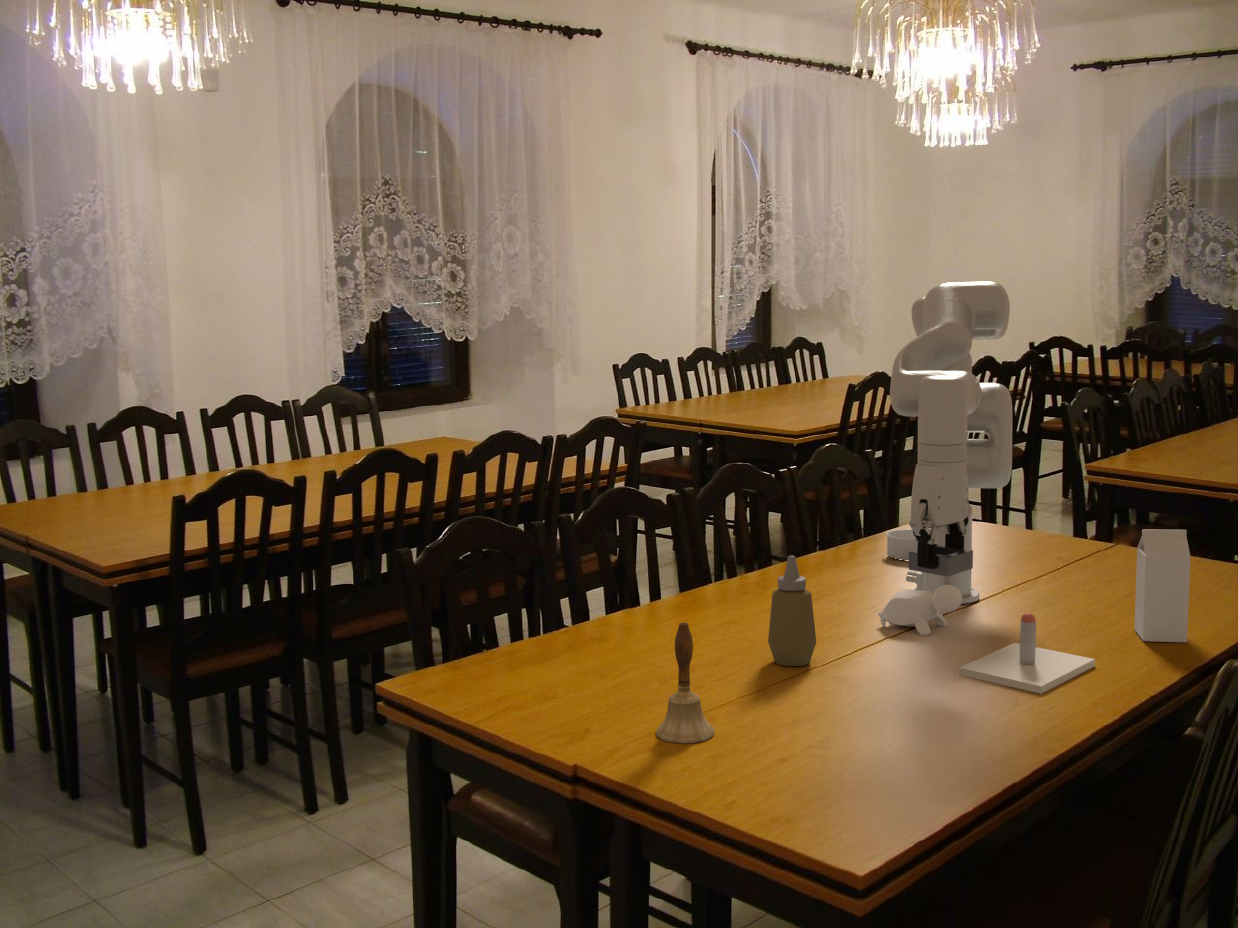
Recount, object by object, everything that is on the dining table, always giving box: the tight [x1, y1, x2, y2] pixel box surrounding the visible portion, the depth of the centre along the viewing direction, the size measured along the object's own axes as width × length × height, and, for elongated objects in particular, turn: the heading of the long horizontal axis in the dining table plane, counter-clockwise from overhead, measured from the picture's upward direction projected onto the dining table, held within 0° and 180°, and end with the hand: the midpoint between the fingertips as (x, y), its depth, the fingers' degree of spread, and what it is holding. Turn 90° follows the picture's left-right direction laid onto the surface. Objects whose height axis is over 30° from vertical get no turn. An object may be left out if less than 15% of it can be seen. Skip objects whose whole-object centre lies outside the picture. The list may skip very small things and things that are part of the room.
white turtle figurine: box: [877, 585, 962, 637], centre depth 223 cm, size 9×8×15 cm
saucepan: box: [885, 528, 918, 560], centre depth 277 cm, size 12×20×6 cm, turn 42°
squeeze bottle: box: [767, 555, 817, 667], centre depth 205 cm, size 8×8×18 cm
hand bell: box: [655, 622, 716, 744], centre depth 174 cm, size 8×8×16 cm
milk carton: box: [1134, 528, 1191, 643], centre depth 213 cm, size 7×7×19 cm
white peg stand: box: [958, 612, 1096, 695], centre depth 198 cm, size 14×18×10 cm
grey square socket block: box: [908, 545, 974, 577], centre depth 198 cm, size 7×7×3 cm
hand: (940, 562), depth 198 cm, fingers closed on grey square socket block, 7 cm apart
